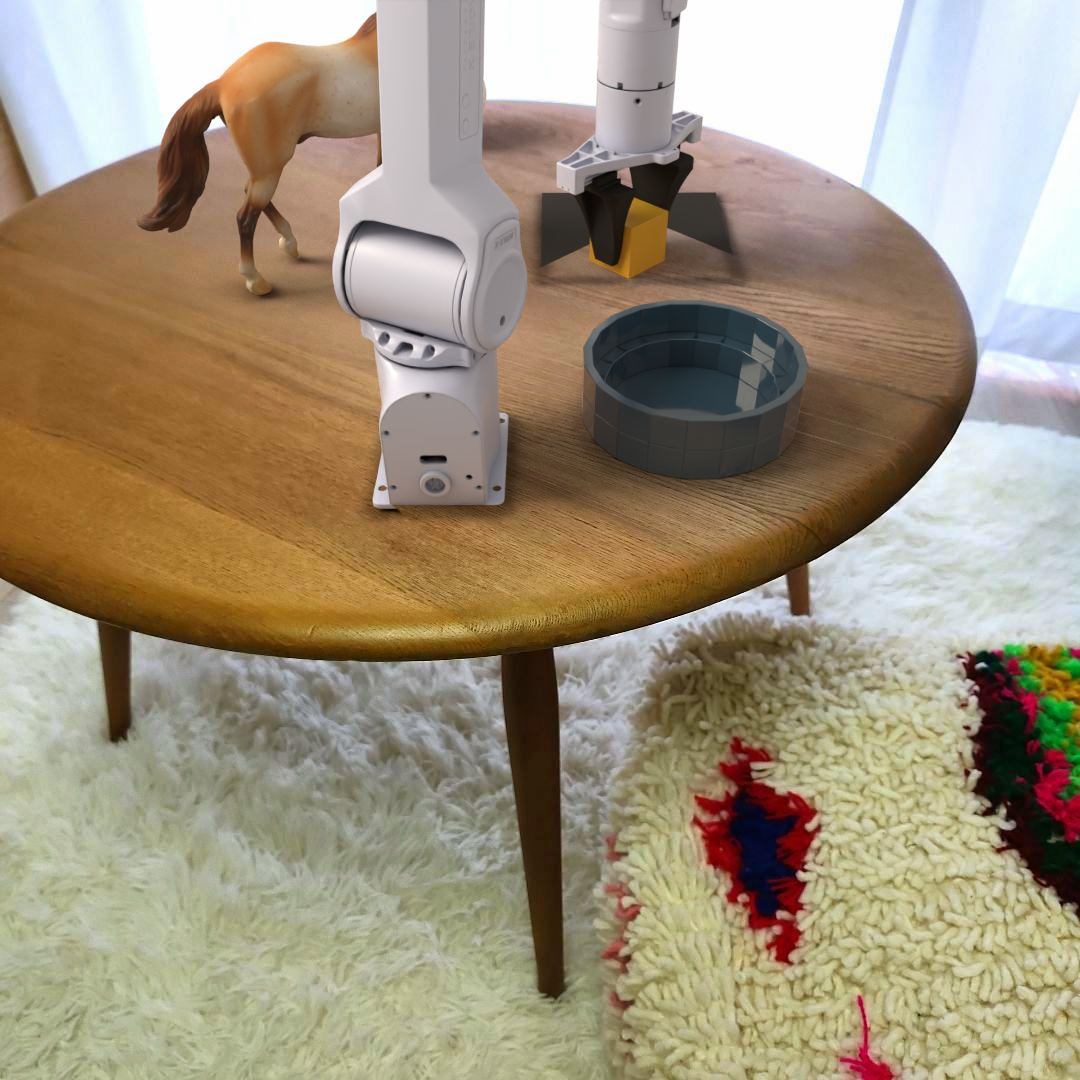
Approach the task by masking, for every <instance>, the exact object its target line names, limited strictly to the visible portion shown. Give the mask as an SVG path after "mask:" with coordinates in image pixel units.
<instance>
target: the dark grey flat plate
mask: <svg viewBox="0 0 1080 1080" xmlns="http://www.w3.org/2000/svg"><path fill="white" fill-rule="evenodd" d="M667 230H671V231H673V232H676V233H678V234H681V235H683V236H685V237H688V238H690V239H693V240H695V241H698V242H700V243H703V244H706V245H708V246H710V247H712V248H714V249H717V250H719V251H722V252H724V253H726V254H728V255H731V256H734V253H733V250H732V246H731V242H730V239H729V236H728V235H729V234H728V232H727V228H726V225H725V220H724V217H723V214H722V210H721V207H720V203H719V200H718V196H717V193H716V192H712V191H711V192H708V191H707V192H700V191H699V192H693V191H692V192H691V191H690V192H689V191H688V192H687V191H686V192H678V193H677V195H676V197H675V199H674V202H673V204H672V206H671V209H670V212H669V214H668V223H667ZM540 232H541V233H540V234H541V235H540V236H541V237H540V238H541V240H540V241H541V242H540V244H541V245H540V254H541V255H540V267H541V268H543V267H545V266H548V265H549V264H552V263H554V262H556V261H559V260H560V259H562V258H564V257H566V256H568V255H570V254H572V253H574V252H577V251H579V250H581V249H583V248H585V247H587V246H590V235H589V231H588V228H587V225H586V221H585V219H584V216H583V213H582V211H581V209H580V206H579V204H578V202H577V201H576V199H575V197H574V195H573V194H571V193H568V192H542V193H541V231H540Z"/></svg>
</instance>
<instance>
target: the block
mask: <svg viewBox="0 0 1080 1080" xmlns="http://www.w3.org/2000/svg"><path fill="white" fill-rule="evenodd" d="M667 223H668V211H667V210H664V209H662V208H659V207H657V206H654V205H652V204H649V203H647V202H644V201H642V200H639V199H637V198H634V199H633V201H632V204H631V206H630V209H629V212H628V215H627V219H626V223H625V227H624V235H623V244H622V251H621V255H620V259H619V262H618V264H617V265H615V266H610V265H607V264H605V263H603V262H601V261H599V260H596V259H595V257H594V252H593V248H592V243H591V239H590V244H589V262H592V263H593V264H596V265H598V266H599V267H602V268H604V269H607V270H609V271H611V272H613V273H615V274H618V275H619V276H622V277H624V278H625V279H628V280H629V279H632V278H633V277H635V276H638V275H639V274H641V273H642V272H645V271H647V270H649V269H651V268H653V267H655V266H657V265H659V264H660V263H662V262H665V259H666V258H665V257H666V246H667V235H668V234H667V233H668V228H667Z"/></svg>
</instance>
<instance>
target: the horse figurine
mask: <svg viewBox="0 0 1080 1080" xmlns="http://www.w3.org/2000/svg"><path fill="white" fill-rule="evenodd" d="M217 117H219V119H220V120H221V122H222V123H223V125H224V126H225V128H226V129H227V130H228V133H229V135H230V138H231V140H232V141H233V145H234V146H235V148H236V151H237V152H238V154H239V156H240V159H241V160H242V162H243V164H244V165H245V167H246V169H247V171H248V174H249V175H248V176H249V177H248V179H247V181H246V183H245V185H244V193H245V198H244V201H243V203H242V205H241V207H240V208H239V210H238V211H237V212H236V216H235V218H236V224H237V228H238V234H239V245H240V248H239V249H240V256H239V262H238V263H239V264H238V272H239V274H240V275H242V276H244V277H245V278H246V281H245V286H246V288H247V290H248V291H249V292H250V293H251V294H254V295H257V296H259V295H261V296H262V295H266V294H269V293H270V292H271V291H272V290H273V289H272V285H271V284H270V283H269V282H268V281H267V280H266V278H265V277H263V275H262V274H261V272H259V271H258V270H257V268H256V266H255V265H256V264H255V256H254V238H255V232H256V230H257V229H256V228H257V225H258V221H259V218H260V216H261V214H262V213H263V214H264V215H265V217H266V218H267V219H268V220H269V221H270V223H271V225H272V227H273V229H274V231H276V232H277V234H280V235H281V237H280V238H279V240H278V247H279V249H281V251H283V252H284V253H285V254H287V255H289V256H290V257H292V258H293V259H295V260H297V259H298V258H299V251H298V242H297V239H296V238H295V235H294V234H293V232H292V227H291V224H290V223H289V221H288V220H287V219H286V217H284V216H283V215H282V214H281V213H280V211H279V210H278V209H277V208H276V206H275V204H274V203H273V202H272V200H273V197H274V195H275V193H276V191H277V188H278V185H279V183H280V179H281V176H282V174H283V172H284V171H283V170H284V168H285V166H286V165H287V164H288V163H289V162H290V161H291V159H292V158H293V157H294V156H295V155H294V154H295V151H296V148H297V145H301V144H303V143H304V142H305V141H307V140H308V139H310V138H314V137H315V138H316V137H317V138H322V139H334V140H335V139H337V140H338V139H339V140H340V139H343V140H344V139H345V140H346V139H354V138H363V137H367V136H368V137H369V136H371V135H375V134H376V149H377V151H376V152H377V154H376V168H377V167H379V166H380V165H381V164H382V146H381V120H380V93H379V67H378V40H377V13H376V11H375V12H374V13H372V14H370V16H368V18H367V19H366V20H365V21H364V22H363V23H362V25H361V26H360V27H359V28H358V29H357V31H356V33H355V34H353V35H352V36H351V37H349V38H347V39H345V40H343V41H340V42H337V43H332V44H326V45H308V44H306V45H305V44H298V43H290V42H284V41H267V42H266V41H265V42H262V43H259V44H257V45H256V46H254V47H252V48H251V49H250V50H248V51H247V52H245V53H244V54H242V55H241V56H240V57H238V58H237V59H236V61H234V62H233V63H232V64H231V65H230V66H228V68H227V69H226V70H225V71H224V72H223V73H222V75H221V76H219V78H217V79H214V80H212V81H211V82H209V83H206V84H205V85H204V86H203V87H201V89H199V90H197V91H196V92H195V93H194V94H193V95H192V96H191V97H189V98H188V99H187V100H185V102H184V103H183V104H182V105H181V106H179V108H178V109H177V110H176V111H175V112H174V114H173V115H172V117H171V118H170V120H169V122H168V124H167V126H166V128H165V130H164V133H163V136H162V139H161V142H160V147H159V151H158V159H157V166H156V176H157V199H156V203H155V206H153V207H152V208H151V209H150V210H149V211H148V212H147V213H145V214H144V215H142V216H135V217H134V218H133V220H134V221H135V223H136V225H137V227H139V228H140V229H141V230H143V231H147V232H151V233H152V232H159V231H163V230H165V229H167V233H168V234H169V233H170V234H171V233H175V232H178V231H181V230H182V229H184V227H186V226H187V224H188V222H189V220H190V217H191V213H192V211H193V208H194V207H195V206H196V204H197V202H198V200H199V199H200V198H201V196H202V195H203V194H204V191H205V189H206V183H207V180H208V176H209V173H210V153H209V151H208V146H207V142H206V138H205V132H207V131H208V129H209V128H210V126H211V124H212V121H213V120H215V119H216V118H217Z"/></svg>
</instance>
